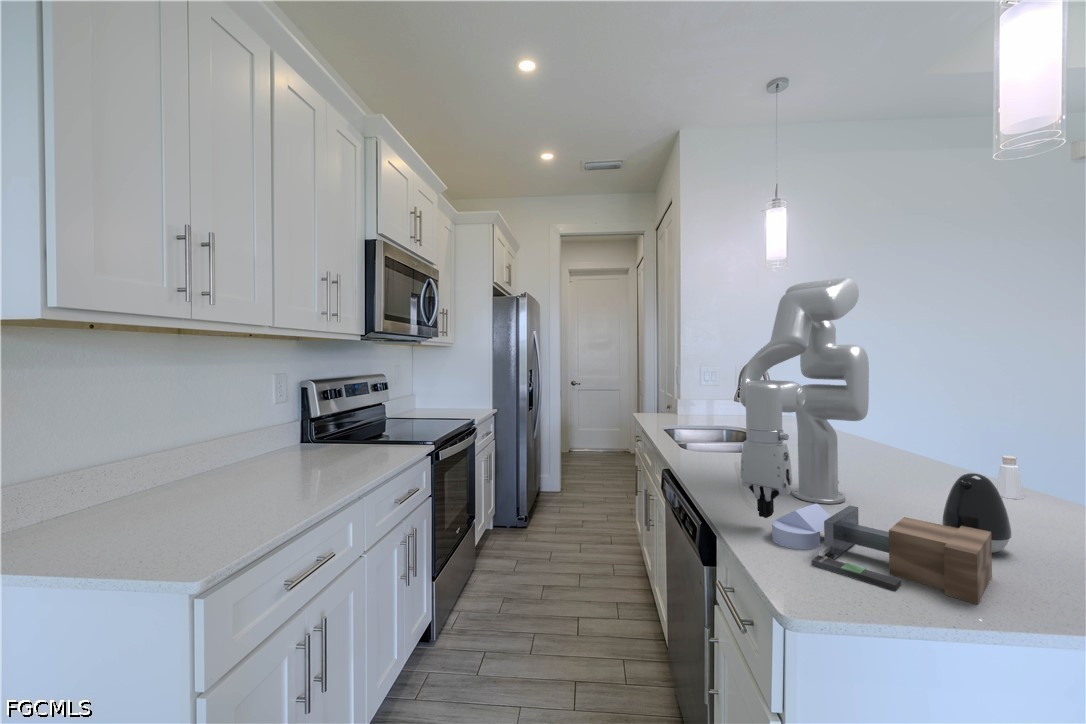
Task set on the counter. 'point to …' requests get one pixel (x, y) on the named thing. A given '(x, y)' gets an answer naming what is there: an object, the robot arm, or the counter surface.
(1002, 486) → the salt shaker
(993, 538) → the black egg-shaped piece
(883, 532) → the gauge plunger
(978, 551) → the frame
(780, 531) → the wedge on round base
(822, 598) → the counter surface
